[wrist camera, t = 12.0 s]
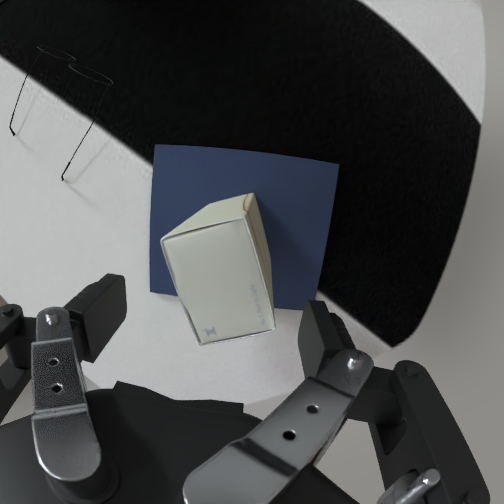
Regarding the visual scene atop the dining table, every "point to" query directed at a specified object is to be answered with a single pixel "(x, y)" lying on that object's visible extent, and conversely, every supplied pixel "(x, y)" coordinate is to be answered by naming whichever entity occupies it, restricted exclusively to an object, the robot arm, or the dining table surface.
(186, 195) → the cloth
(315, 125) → the dining table surface
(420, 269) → the dining table surface
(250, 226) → the cosmetic box
